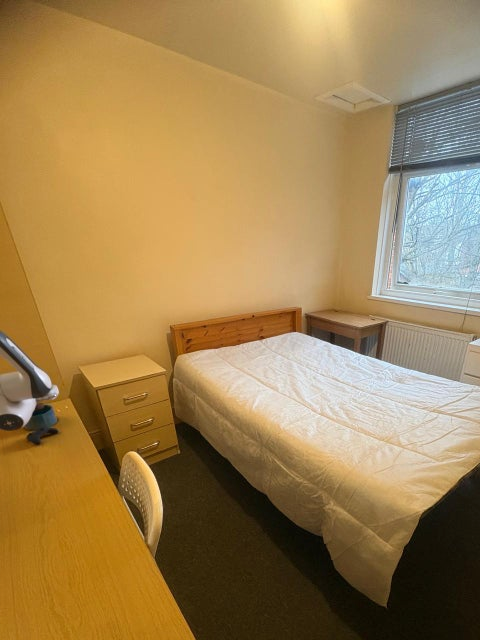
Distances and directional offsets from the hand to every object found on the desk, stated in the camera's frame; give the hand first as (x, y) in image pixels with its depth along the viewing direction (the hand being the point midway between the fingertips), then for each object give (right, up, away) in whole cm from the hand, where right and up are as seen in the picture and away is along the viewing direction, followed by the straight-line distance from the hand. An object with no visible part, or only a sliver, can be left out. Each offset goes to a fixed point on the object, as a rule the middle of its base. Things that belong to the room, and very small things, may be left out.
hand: (29, 387), depth 125 cm
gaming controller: (+8, -20, -3) cm, 21 cm away
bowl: (0, -14, +6) cm, 16 cm away
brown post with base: (0, -8, +3) cm, 9 cm away
